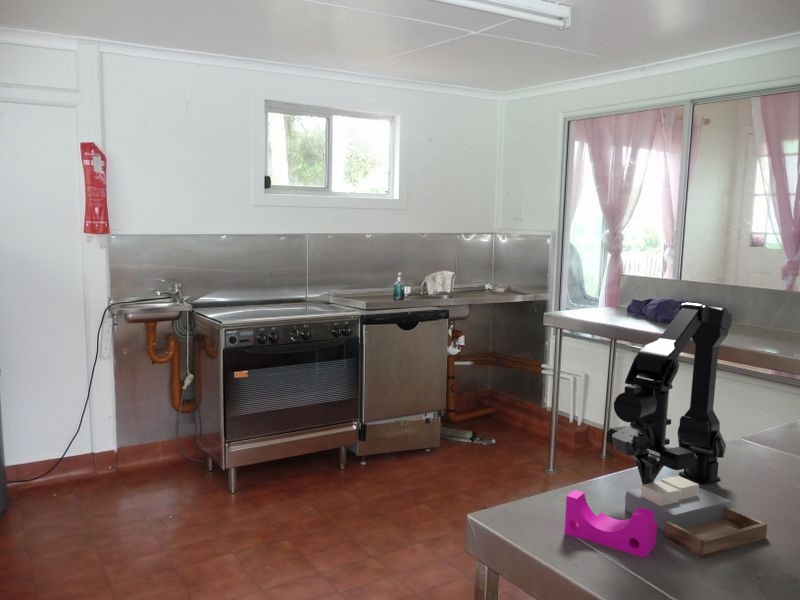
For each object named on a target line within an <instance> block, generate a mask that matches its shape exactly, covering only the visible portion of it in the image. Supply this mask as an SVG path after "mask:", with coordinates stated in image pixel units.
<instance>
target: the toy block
mask: <svg viewBox="0 0 800 600" xmlns="http://www.w3.org/2000/svg"><path fill="white" fill-rule="evenodd" d="M565 497H566V498H565V499H566V500H565V501H566V502H565V518H564V535H568V536H570V537H573V538H575V539H579V540H580V539H583V540H587V541H590V542H593V543H595V544H599V545H602V546H605V547H608V548H611V549H615V550H617V551H621V552H623V553H628V554H631V555H634V556H637V557H640V558H644V559H645V558H646V557H647V556H648V555H649V553H651V551H652V550H653V549H654V548H655V547H656V545H657V531H658V527H657V522H653V521H654V511H651V510H647V509H644V508H640V507H639V508H638V509H637V510H636V511H635V512H634V513H633V514H632V513H631V514H632V515H631V517H630V518H627V519H616V518H613V517H611V516H609V515H607V514H605V513H604V512H603V511H602V512H600V513H599V514H598V515H596V514H595V513H594V512H593V510H592V509H591V507H590V506H589V504H588V502H587V499H586V494H585V492H584V491H580V490H577V489H573V490H572V492H569V493H568V494H567V495H566V496H565Z"/></svg>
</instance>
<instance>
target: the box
mask: <svg viewBox="0 0 800 600" xmlns="http://www.w3.org/2000/svg"><path fill="white" fill-rule="evenodd" d="M767 532H768V524H767V523H765V522H763V521H760V520H758V519H756V518H754V517H751V516H750V515H747V514H746V513H742V512H740V511H738V510H736V509H733V508H732V507H730V508H729V507H724V517H723V519H721V520H717V521H713V522H709V523H706V524H702V525H698V526H694V527H690V528H687V529H683V528H681V527H679V526H677V525H675V524H673V523H671V522H669V521H668V522H666V525H665V531H664V538H665V539H668V540H669V541H671V542H673V543H674V544H676V545H678V546H680V547H681V548H684V549H686V550H687V551H689V552H691V553H693V554H695V555H697V556H699V557H701V558H703V559H705V558H708V557H711V556H715V555H718V554H721V553H724V552H727V551H730V550H733V549H736V548H739V547H742V546H746V545H748V544H752V543H755V542H757V541H761V540H764V539H766V538H767V534H768V533H767Z"/></svg>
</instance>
